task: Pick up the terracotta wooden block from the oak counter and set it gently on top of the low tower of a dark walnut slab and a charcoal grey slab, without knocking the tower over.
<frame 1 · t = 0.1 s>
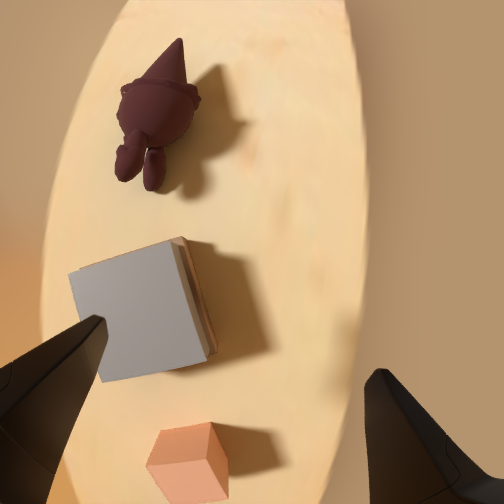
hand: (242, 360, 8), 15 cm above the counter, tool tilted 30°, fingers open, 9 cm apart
maroon plush toy: (165, 122, 24), on the counter
block: (194, 446, 22), on the counter
tower bottom: (152, 306, 23), on the counter
tower top: (143, 311, 20), point 2 cm above the counter
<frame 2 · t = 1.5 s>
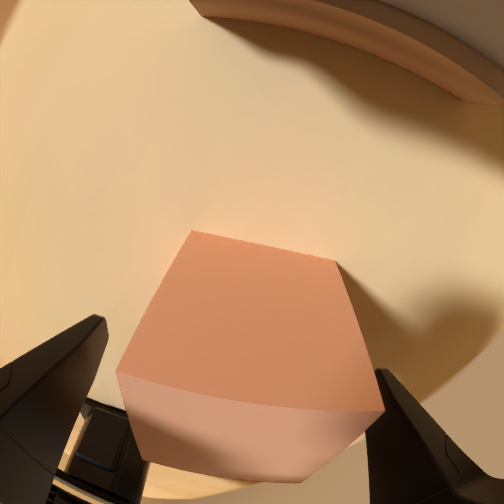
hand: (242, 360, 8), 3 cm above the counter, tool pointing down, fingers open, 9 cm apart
block: (249, 303, 11), on the counter
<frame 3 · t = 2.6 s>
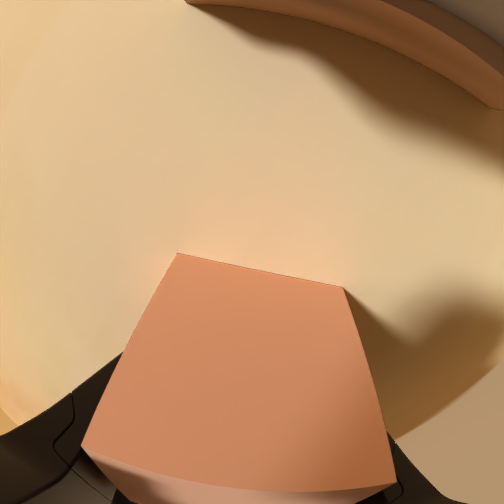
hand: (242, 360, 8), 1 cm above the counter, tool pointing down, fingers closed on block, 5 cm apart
block: (245, 332, 9), on the counter, touching gripper
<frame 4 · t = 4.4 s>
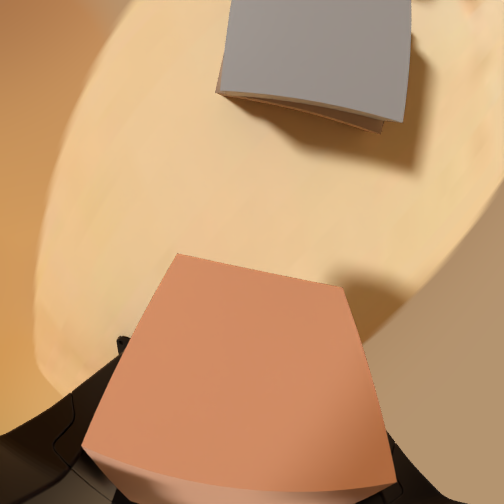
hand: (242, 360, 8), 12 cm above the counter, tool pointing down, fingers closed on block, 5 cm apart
block: (245, 333, 9), point 10 cm above the counter, touching gripper
tower bottom: (310, 46, 14), on the counter, touching tower top
tower top: (315, 35, 11), point 2 cm above the counter, touching tower bottom
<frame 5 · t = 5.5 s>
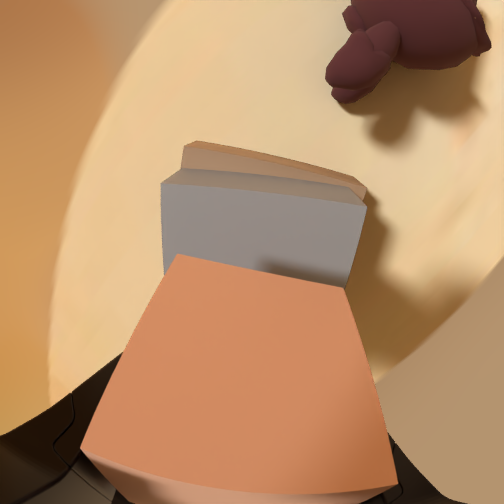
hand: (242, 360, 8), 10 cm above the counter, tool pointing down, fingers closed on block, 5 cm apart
maroon plush toy: (395, 20, 11), on the counter
block: (245, 333, 9), point 9 cm above the counter, touching gripper
tower bottom: (259, 226, 18), on the counter, touching tower top
tower top: (257, 251, 15), point 2 cm above the counter, touching tower bottom
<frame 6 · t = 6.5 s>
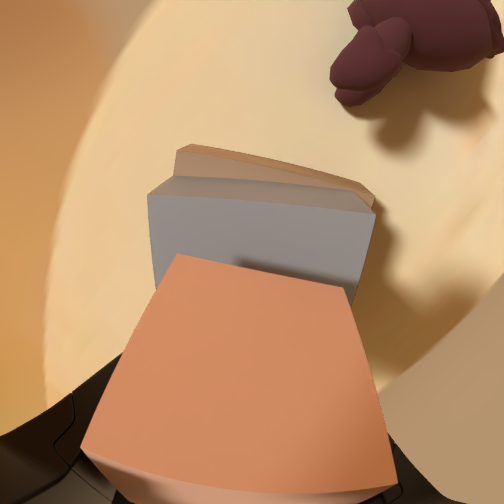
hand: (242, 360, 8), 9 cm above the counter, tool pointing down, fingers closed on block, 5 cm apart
maroon plush toy: (402, 18, 10), on the counter
block: (245, 333, 9), point 7 cm above the counter, touching gripper
tower bottom: (259, 235, 16), on the counter, touching tower top
tower top: (256, 262, 14), point 2 cm above the counter, touching tower bottom
when the fingers open (9 cm above the counter, at t = 6.5 s): block drops 2 cm, resting on tower top.
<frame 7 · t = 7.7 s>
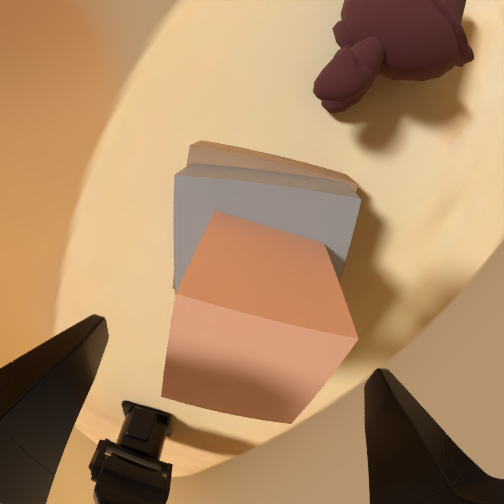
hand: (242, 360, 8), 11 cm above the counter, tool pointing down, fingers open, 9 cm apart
maroon plush toy: (384, 32, 12), on the counter
block: (254, 274, 13), point 5 cm above the counter, touching tower top
tower bottom: (258, 221, 19), on the counter, touching tower top
tower top: (259, 241, 16), point 2 cm above the counter, touching block, tower bottom
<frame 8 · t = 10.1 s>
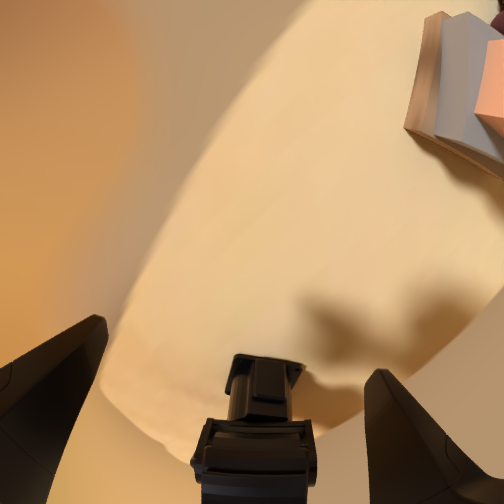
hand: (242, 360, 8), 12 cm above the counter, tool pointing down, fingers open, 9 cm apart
tower bottom: (460, 97, 14), on the counter, touching tower top
tower top: (485, 97, 11), point 2 cm above the counter, touching block, tower bottom
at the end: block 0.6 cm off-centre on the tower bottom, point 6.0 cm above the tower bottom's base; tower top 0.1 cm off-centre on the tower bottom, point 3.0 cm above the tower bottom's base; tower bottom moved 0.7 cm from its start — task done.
